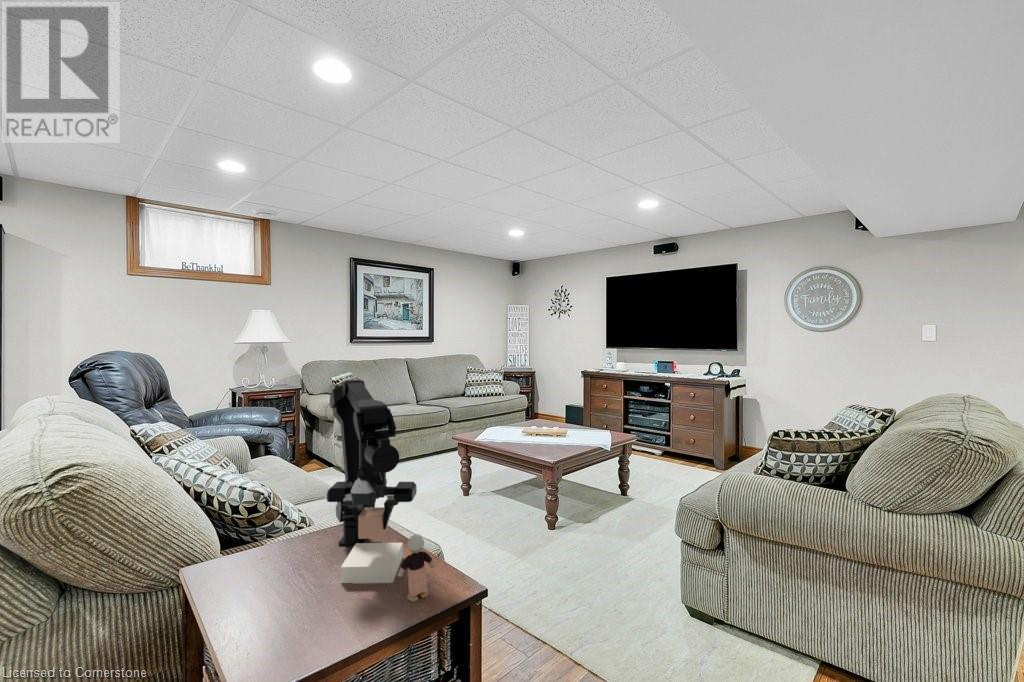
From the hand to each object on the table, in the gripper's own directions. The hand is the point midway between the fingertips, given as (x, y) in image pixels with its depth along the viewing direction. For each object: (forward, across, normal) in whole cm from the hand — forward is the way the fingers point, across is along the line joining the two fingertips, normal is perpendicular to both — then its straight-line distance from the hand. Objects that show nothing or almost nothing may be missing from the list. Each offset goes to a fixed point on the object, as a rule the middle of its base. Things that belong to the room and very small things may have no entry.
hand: (373, 529), depth 106 cm
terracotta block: (+1, 0, 0) cm, 1 cm away
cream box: (+10, 0, 0) cm, 10 cm away
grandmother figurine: (+10, +12, -11) cm, 19 cm away
